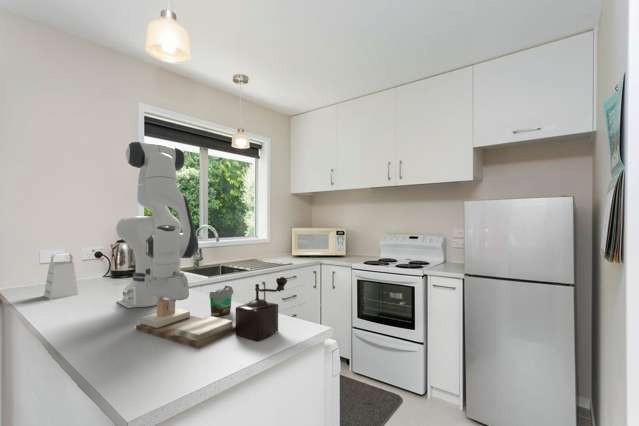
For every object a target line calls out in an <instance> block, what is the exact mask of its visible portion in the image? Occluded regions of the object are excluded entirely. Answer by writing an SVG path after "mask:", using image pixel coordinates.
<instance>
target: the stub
mask: <svg viewBox="0 0 639 426" xmlns="http://www.w3.org/2000/svg"><path fill="white" fill-rule="evenodd" d="M169 302H170V301H169V299H165V300H161V301H157V305H156V312H154V313H152V314H149V315H144V316H142V317H140V324H145V325H148V326H152V327H155V328H158V327H161V326H164V325H167V324H170V323H173V322H176V321H179V320H182V319H185V318H188V317H190V315H191V311H189V310H186V309H180V308H177V307H176V303H175V304H174V309H173V310H171V311H169V310H167V305H169Z"/></svg>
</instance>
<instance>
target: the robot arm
mask: <svg viewBox="0 0 639 426" xmlns="http://www.w3.org/2000/svg"><path fill="white" fill-rule="evenodd" d="M125 158H126V160H127V163H128V164H129V165H130V166H131V167H134V168H136V169H139V172H138V178H137V179H138V180H137V202H138V204H139V205H140V206H141V207H143V208H145V209H148V210H149V211H151V214H152V215H149V216H147V215H146V216H145V215H133V216H126V217H122V218H121V219H119V221H117V224H116V227H115V232H116V234H117V236H118V238H119V239H121V240H122V241H124V242H125V243H126V244H127V245H129V247H130V248H131V249H132V251H133V253H134V258H135V259H134V260H135V261H134V262H135V272H133V273H132V276H133V277H132V281H131V282H130V283H129V284H127V285H126V286H125V287H124V289H123V291H122V297H121V298H118V299H116V303H118V304H119V305H120V306H123V307H125V308H127V309H133V308H144V307H145V308H148V307H153V306H157V301H161V300H165V299H169V301H170V302H169V305H167V310H169V311H171V310H173V309H174V304H175V305H176V301H183V300H187V299H188V298H189V297H190V288H189V282H188V277H187V276H186V274H185V273H184V272H181V259H191V258H193V257H194V256H195V254H197V253H198V251H199V240H198V238H197V234H196V231H195V227H194V222H193V219H192V218H193V217H192V214H191V210H190V204H189V201H188V199H187V196H186V195H185V194H184V193H182V192H181V190H180V189H179V186H178V178H177V171H180V170H182V169H183V168H184V165H185V163H186V155H185V151H184V150H183V149H182V148H180V147H177V146H171V145H167V144H163V143H153V142H152V143H151V142H141V141H132V142H131V143H129V144H128V147H127V148H126V150H125ZM169 208H171V209H172V210H175V212H177V214H178V217H179V219H178V217H175V216H174V215H173V214H172V212H171V211H170V210H169ZM181 231H182V232H181Z"/></svg>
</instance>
